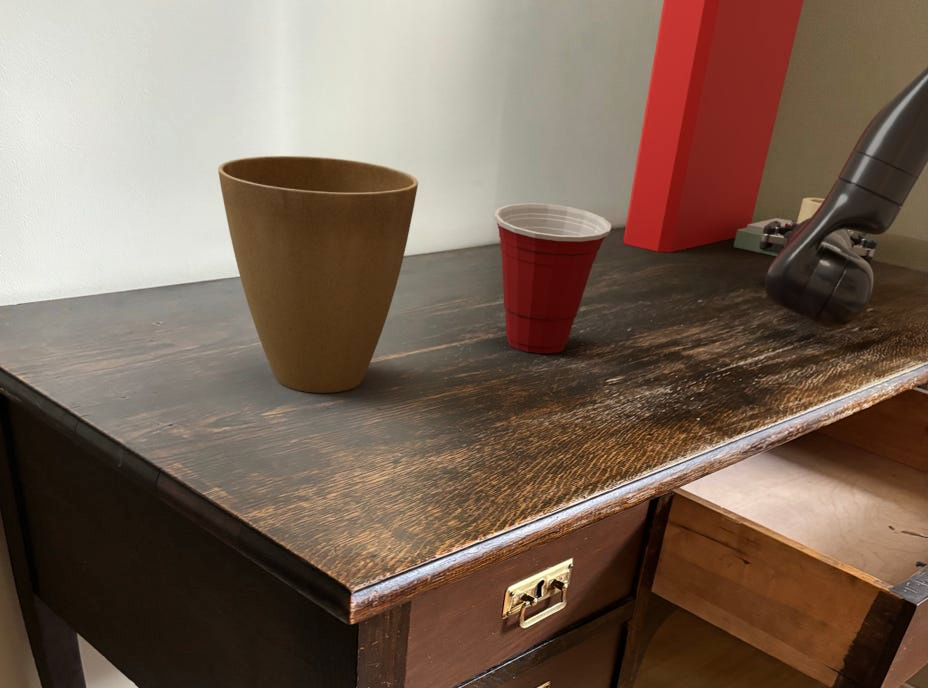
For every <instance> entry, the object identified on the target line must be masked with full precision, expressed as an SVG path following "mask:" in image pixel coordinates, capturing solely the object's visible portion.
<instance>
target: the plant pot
mask: <svg viewBox="0 0 928 688" xmlns="http://www.w3.org/2000/svg"><path fill="white" fill-rule="evenodd" d="M217 170H218V177H219V185H220V189H221V195H222V200H223V205H224V210H225V215H226V222H227V226H228V230H229V237H230V241H231V244H232V249H233V254H234V258H235V262H236V265H237V266H236V267H237V270H238V273H239V278H240V281H241V284H242V289H243V291H244V295H245V298H246V301H247V306H248V308H249V311H250V314H251V318H252V322H253V324H254V327H255V329H256V333H257V336H258V338H259V341H260V343H261V346H262V349H263V352H264V355H265V356H266V357H265V358H266V360H267V362H268V364H269V366H270V369H271V371H272V374H273V376H274V378H275V380H276V381H277V382H278V383H279V384H281V385H282V386H284V387H286V388H289V389H291V390H294V391H295V390H296V391H299V392H305V393H316V394H317V393H318V394H324V393H325V394H331V393H341V392H346V391H349V390H352V389H354V388H357V387H358V386H360V385H361V384H362V383H363V381H364V378H365V376H366V373H367V371H368V369H369V366H370V363H371V361H372V359H373V356H374V354H375V351H376V348H377V346H378V343H379V341H380V338H381V335H382V332H383V331H384V330H383V329H384V326H385V324H386V321H387V317H388V315H389V312H390V309H391V305H392V302H393V299H394V295H395V291H396V289H397V284H398V280H399V277H400V273H401V269H402V265H403V261H404V257H405V251H406V248H407V243H408V238H409V235H410V229H411V223H412V218H413V212H414V208H415V202H416V197H417V192H418V187H419V181H418V179H417V178H416V177H414V176H413V175H411V174H409V173H407V172H405V171H402V170H400V169H399V170H398V169H396V168H393V167H389V166H385V165H381V164H375V163H371V162H365V161H359V160H353V159H344V158H335V157H334V158H333V157H324V156H323V157H321V156H307V155H265V156H252V157H251V156H250V157H242V158H237V159H232V160H227V161H225V162H223V163H221V164H220V165H219V166H218V167H217Z"/></svg>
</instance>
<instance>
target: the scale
mask: <svg viewBox="0 0 928 688" xmlns="http://www.w3.org/2000/svg"><path fill="white" fill-rule="evenodd" d="M772 221H779V222H780V223H781V226H785V224H786V223H789V222H792V220H790V219H783V218H778V217H775V218H770V219H767V220H762V221H757V222H752V223H751V224H748V225H747V228H743V229H739V230H737V233H736V238H734V243H733V246H732V247H733V248H736V249H740V250H745V251H750V252H754V253H758V254H764V255H768V256H772V257H776V256H777V255H778V254H779V253H780V251H781V250H782V248H781V245H780V244H775V245H774V248H771V247H770V248H769V249H762V248H760V247H759V246H760V242H761V237H762V233H763V229H764V226H766V225H767V224H769V223H770V222H772Z"/></svg>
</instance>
